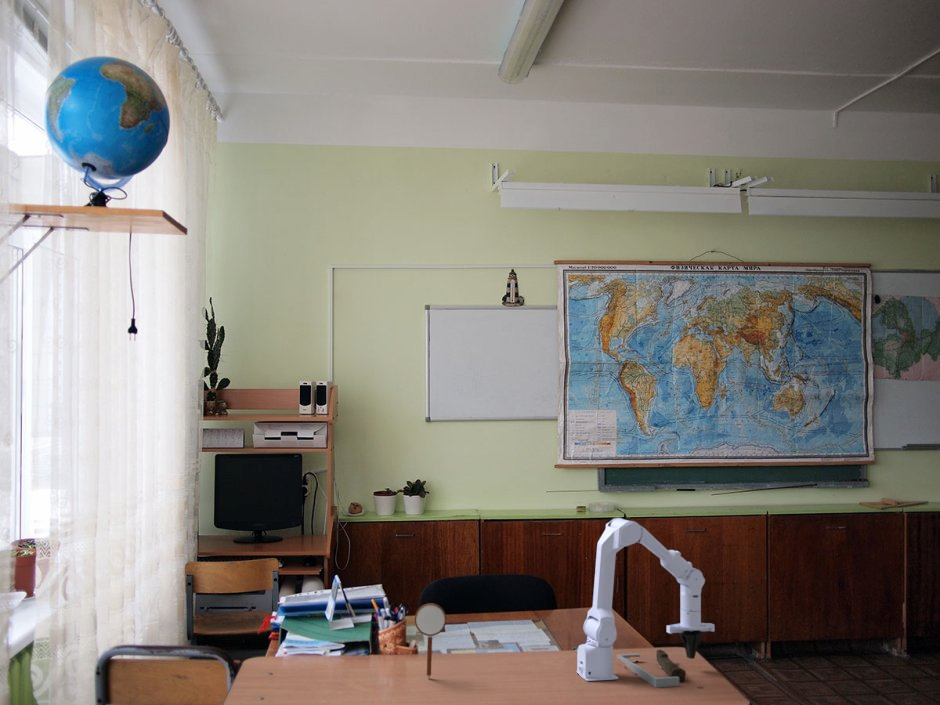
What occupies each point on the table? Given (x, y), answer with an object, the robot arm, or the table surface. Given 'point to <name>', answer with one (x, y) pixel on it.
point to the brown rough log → (670, 666)
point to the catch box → (648, 676)
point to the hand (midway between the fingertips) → (690, 657)
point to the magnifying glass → (430, 626)
